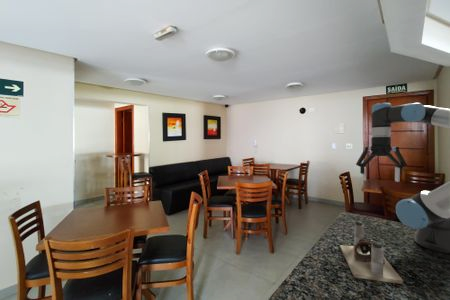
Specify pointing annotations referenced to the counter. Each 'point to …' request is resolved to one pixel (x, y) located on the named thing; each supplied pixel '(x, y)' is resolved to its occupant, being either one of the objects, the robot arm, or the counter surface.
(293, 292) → the counter surface
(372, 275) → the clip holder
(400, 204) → the robot arm
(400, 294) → the counter surface
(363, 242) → the pottery mug
